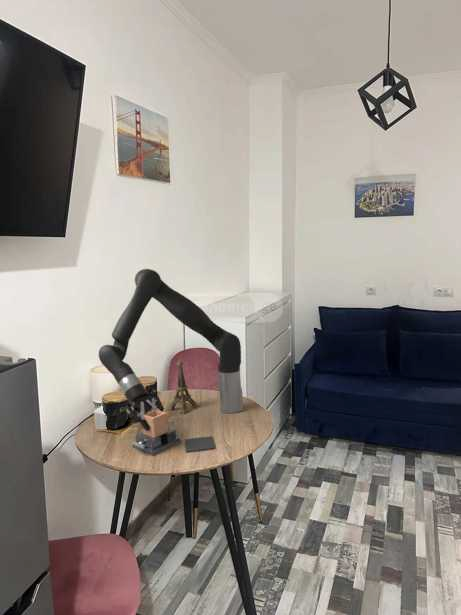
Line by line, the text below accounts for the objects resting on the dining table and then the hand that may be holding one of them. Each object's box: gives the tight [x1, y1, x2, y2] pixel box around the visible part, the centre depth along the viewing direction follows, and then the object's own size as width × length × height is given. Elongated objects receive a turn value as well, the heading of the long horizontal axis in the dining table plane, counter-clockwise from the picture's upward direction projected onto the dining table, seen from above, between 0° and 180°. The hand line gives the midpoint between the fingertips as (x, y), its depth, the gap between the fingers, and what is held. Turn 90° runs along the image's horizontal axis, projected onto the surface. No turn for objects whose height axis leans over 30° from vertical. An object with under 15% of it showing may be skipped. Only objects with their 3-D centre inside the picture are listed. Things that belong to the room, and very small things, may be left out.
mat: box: [184, 435, 216, 454], centre depth 161 cm, size 10×10×1 cm
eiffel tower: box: [166, 355, 201, 416], centre depth 197 cm, size 11×11×25 cm
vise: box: [131, 415, 181, 457], centre depth 162 cm, size 15×11×10 cm
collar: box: [142, 410, 169, 438], centre depth 162 cm, size 6×6×7 cm
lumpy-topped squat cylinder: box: [93, 404, 107, 430], centre depth 184 cm, size 10×13×9 cm
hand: (156, 426), depth 162 cm, fingers closed on collar, 6 cm apart
